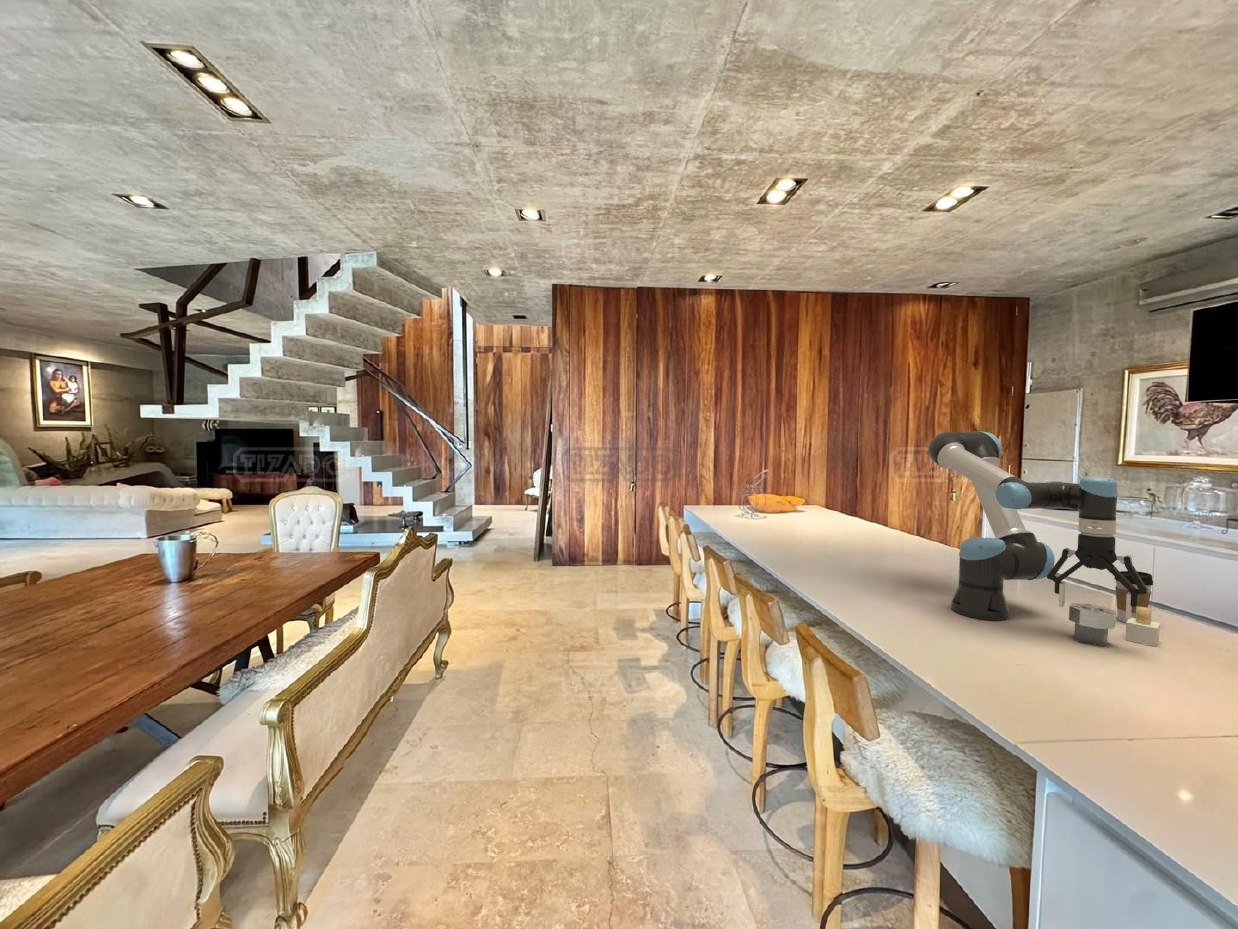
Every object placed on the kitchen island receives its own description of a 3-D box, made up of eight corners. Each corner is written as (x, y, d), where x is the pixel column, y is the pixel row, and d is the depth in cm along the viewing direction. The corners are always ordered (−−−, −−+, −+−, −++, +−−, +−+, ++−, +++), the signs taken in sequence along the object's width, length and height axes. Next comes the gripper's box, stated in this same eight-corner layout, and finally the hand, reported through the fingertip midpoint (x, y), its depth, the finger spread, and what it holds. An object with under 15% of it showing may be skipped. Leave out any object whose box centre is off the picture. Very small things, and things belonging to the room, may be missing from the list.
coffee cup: (1158, 627, 153) (1162, 577, 152) (1125, 625, 155) (1127, 575, 154) (1136, 618, 161) (1139, 570, 160) (1104, 616, 163) (1107, 568, 162)
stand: (1074, 640, 144) (1075, 607, 143) (1078, 634, 147) (1080, 602, 147) (1103, 647, 139) (1105, 613, 139) (1107, 641, 143) (1109, 608, 142)
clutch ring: (1066, 622, 144) (1067, 607, 143) (1073, 614, 149) (1074, 601, 149) (1111, 631, 137) (1112, 616, 136) (1116, 623, 142) (1117, 609, 142)
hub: (1125, 640, 144) (1127, 608, 143) (1128, 634, 148) (1130, 603, 147) (1156, 646, 139) (1158, 613, 139) (1158, 641, 143) (1160, 609, 142)
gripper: (1035, 530, 149) (1033, 603, 150) (1161, 542, 130) (1157, 627, 130) (1042, 527, 154) (1039, 598, 154) (1164, 539, 134) (1160, 620, 135)
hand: (1093, 611), depth 142 cm, fingers open, 13 cm apart
